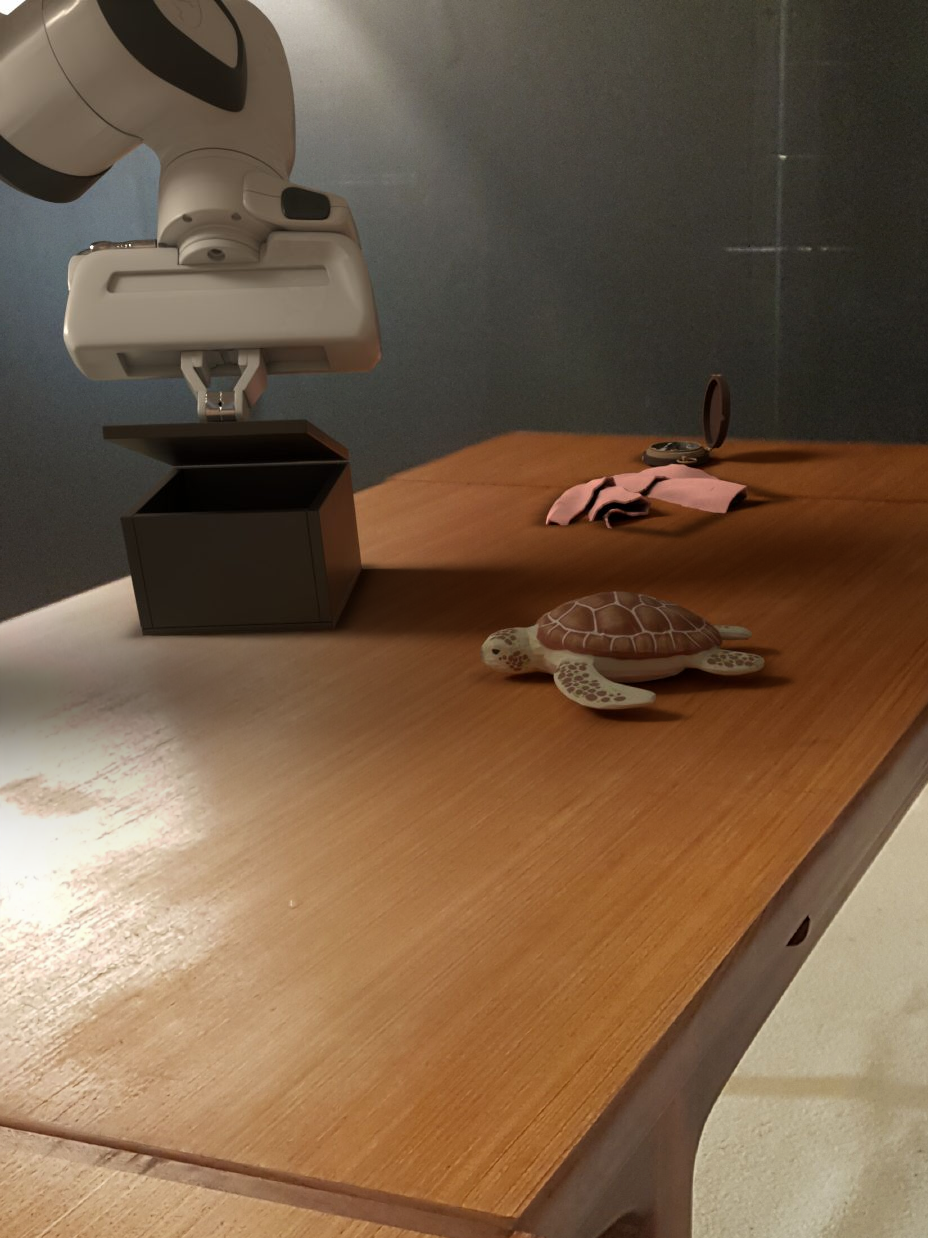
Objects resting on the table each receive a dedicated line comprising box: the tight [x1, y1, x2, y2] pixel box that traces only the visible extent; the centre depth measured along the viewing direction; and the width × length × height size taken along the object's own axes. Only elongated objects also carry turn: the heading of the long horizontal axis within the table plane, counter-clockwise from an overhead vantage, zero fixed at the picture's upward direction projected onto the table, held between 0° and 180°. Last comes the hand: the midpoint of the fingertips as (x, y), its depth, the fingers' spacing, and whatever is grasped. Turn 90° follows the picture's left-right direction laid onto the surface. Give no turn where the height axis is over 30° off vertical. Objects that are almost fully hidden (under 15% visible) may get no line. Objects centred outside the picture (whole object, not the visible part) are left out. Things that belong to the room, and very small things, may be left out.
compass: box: [641, 373, 731, 467], centre depth 148 cm, size 8×8×7 cm
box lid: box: [101, 418, 350, 467], centre depth 108 cm, size 16×13×1 cm
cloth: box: [545, 464, 748, 529], centre depth 135 cm, size 20×22×2 cm
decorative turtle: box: [479, 590, 765, 710], centre depth 96 cm, size 18×17×5 cm
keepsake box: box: [119, 461, 363, 636], centre depth 111 cm, size 16×13×8 cm
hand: (223, 424), depth 105 cm, fingers closed
